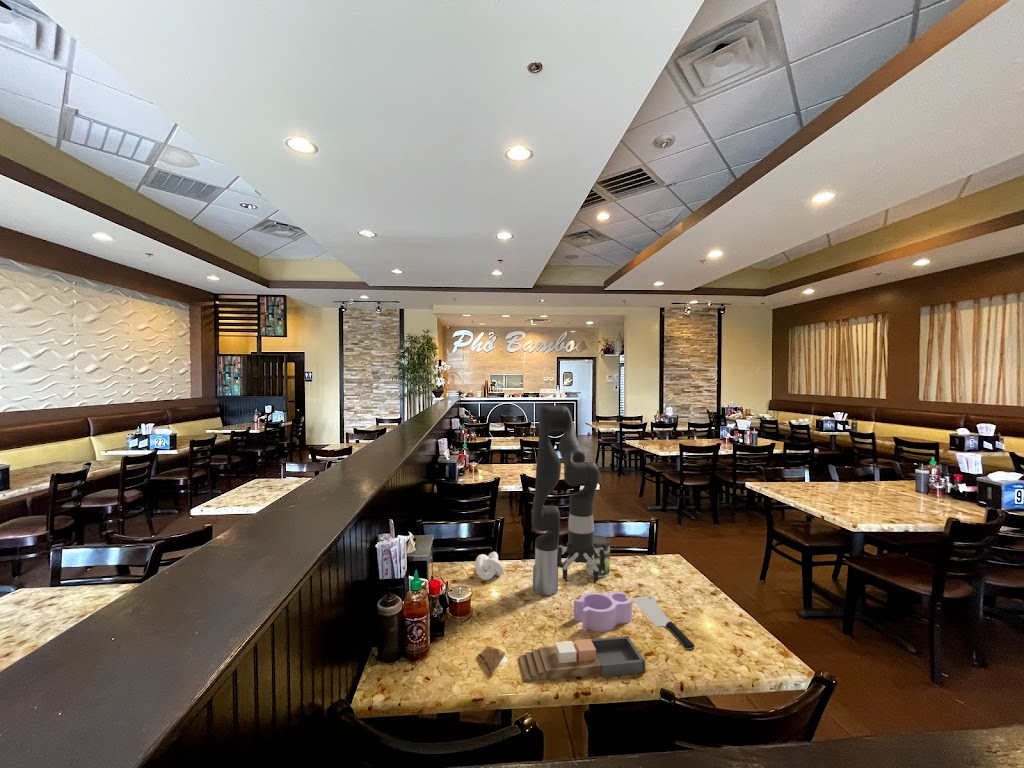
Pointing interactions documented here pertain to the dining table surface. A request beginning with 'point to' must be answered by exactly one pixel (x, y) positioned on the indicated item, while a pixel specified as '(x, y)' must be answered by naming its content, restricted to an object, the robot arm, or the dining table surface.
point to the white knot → (488, 566)
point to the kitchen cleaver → (661, 618)
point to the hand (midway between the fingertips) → (580, 581)
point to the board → (567, 665)
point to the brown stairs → (532, 666)
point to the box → (618, 656)
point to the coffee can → (597, 543)
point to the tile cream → (565, 651)
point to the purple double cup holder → (602, 610)
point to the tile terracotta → (585, 650)
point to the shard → (491, 658)
